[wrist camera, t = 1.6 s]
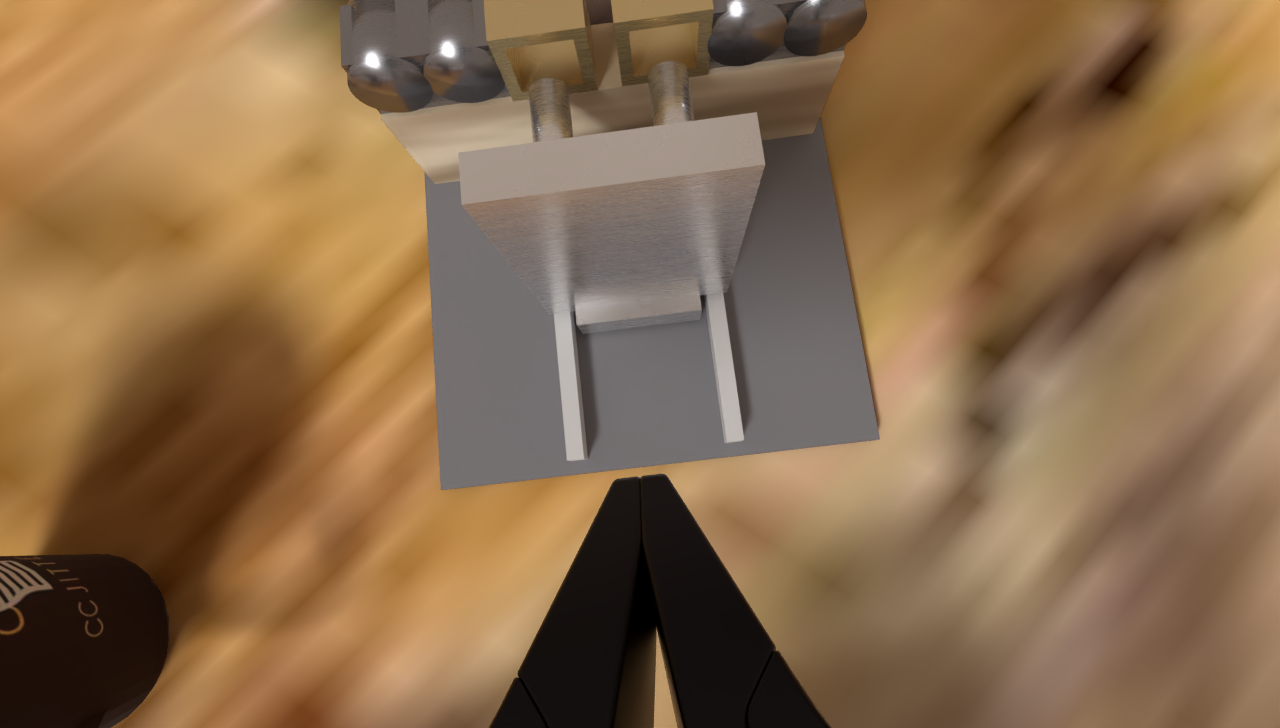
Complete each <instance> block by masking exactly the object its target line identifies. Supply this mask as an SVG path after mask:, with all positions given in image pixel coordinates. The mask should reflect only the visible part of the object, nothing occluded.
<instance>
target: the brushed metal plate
mask: <svg viewBox="0 0 1280 728" xmlns="http://www.w3.org/2000/svg"><path fill="white" fill-rule="evenodd" d="M648 84H649V92H650V100H651V107H652V115H653V123H654V126H651V127H644V128H636V129H629V130H622V131H614V132H607V133H600V134H592V135H585V136H577V137H573V129H572V119H571V109H570V99H569V90H568V86H567V85H566V84H565V83H564V82H563V81H561V80H558V79H555V78H542V79H539V80H536V81H534V82H533V83H532V84H531V85H530V86H529V89H528V93H529V105H530V116H531V127H532V139H533V143H526V144H518V145H511V146H504V147H496V148H489V149H481V150H474V151H467V152H459V153H458V157H459V173H460V189H461V205H462V206H463V207H464V208H465V210H466V211H467V212H468V213H469V215H470V216H471V217H472V218H473V220H474V221H475V222H476V223H477V225H478V226H479V227H480V229H481V230H482V231H483V232H484V234H485V235H486V236H487V237H488V239H489V240H490V241H491V242H492V244H493V245H494V246H495V247H496V249H497V250H498V251H499V252H500V254H501V255H502V256H503V257H504V259H505V260H506V261H507V262H508V264H509V265H510V266H511V267H512V269H513V270H514V271H515V272H516V274H517V275H518V276H519V277H520V279H521V280H522V281H523V282H524V284H525V285H526V286H527V287H528V289H529V290H530V291H531V292H532V294H533V295H534V296H535V297H536V299H537V300H538V301H539V302H540V304H541V305H542V306H543V308H544V309H545V310H546V311H547V313H548V314H557V313H565V312H573V311H576V321H577V326H578V328H579V329H580V331H581V332H582V334H588V333H597V332H605V331H613V330H621V329H629V328H637V327H645V326H653V325H661V324H669V323H677V322H685V321H693V320H700V317H701V311H702V308H701V301H700V296H701V295H709V294H717V293H725V292H727V291H728V288H729V285H730V281H731V278H732V274H733V271H734V268H735V264H736V261H737V258H738V254H739V251H740V248H741V244H742V241H743V238H744V234H745V231H746V228H747V224H748V221H749V217H750V214H751V211H752V207H753V204H754V201H755V197H756V194H757V191H758V187H759V184H760V181H761V177H762V174H763V171H764V167H765V160H764V153H763V147H762V141H761V135H760V129H759V123H758V117H757V112H755V113H747V114H740V115H732V116H725V117H718V118H710V119H703V120H696V121H695V119H694V112H693V105H692V98H691V91H690V84H689V77H688V70H687V67H686V66H685V65H684V64H683V63H681V62H678V61H665V62H661V63H659V64H657V65H655V66H654V67H652V68H651V70H650V71H649V73H648Z"/></svg>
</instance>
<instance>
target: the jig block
mask: <svg viewBox="0 0 1280 728" xmlns="http://www.w3.org/2000/svg"><path fill="white" fill-rule="evenodd" d="M591 34H592V43H593V52H594V61H595V69H596V78H597V87H598V90H594V91H587V92H579V93H572V94H569V99H570V109H571V119H572V129H573V137H577V136H585V135H592V134H600V133H607V132H614V131H622V130H629V129H636V128H644V127H651V126H654V123H653V115H652V107H651V100H650V92H649V84H648V83H645V84H637V85H630V86H623V87H622V82H621V74H620V67H619V59H618V52H617V44H616V37H615V30H614V22H611V23H604V24H597V25H591ZM844 57H845V54H844V50H843V51H836V52H829V53H826V54H822V55H817V56H799V57H792V58H785V59H778V60H770V61H763V62H756V63H753V64H750V65H745V66H727V67H720V68H713V69H709V70H708V75H703V76H695V77H689V84H690V91H691V98H692V105H693V112H694V119H695V121H696V120H703V119H710V118H718V117H725V116H732V115H740V114H747V113H755V112H757V117H758V123H759V129H760V135H761V140H769V139H776V138H784V137H791V136H799V135H806V134H813V132H814V130H815V127H816V125H817V122H818V120H819V117H820V115H821V113H822V110H823V108H824V105H825V103H826V100H827V98H828V96H829V93H830V91H831V88H832V86H833V83H834V81H835V79H836V76H837V74H838V71H839V69H840V66H841V64H842V62H843V59H844ZM381 120H382V121H383V122H384V124H385V125H386V126H387V127H388V128H389V130H390V131H391V132H392V133H393V134H394V136H395V137H396V138H397V139H398V140H399V142H400V143H401V144H402V145H403V146H404V148H405V149H406V150H407V151H408V152H409V154H410V155H411V156H412V157H413V158H414V160H415V161H416V162H417V163H418V164H419V166H420V167H421V168H422V169H423V170H424V172H425V173H426V174H427V175H428V176H429V178H430V179H431V180H432V181H433V182H434V184H440V183H447V182H455V181H460V173H459V157H458V153H459V152H467V151H474V150H481V149H489V148H496V147H504V146H511V145H518V144H526V143H533V139H532V127H531V116H530V105H529V100H521V101H514V102H513V101H512V98H511V96H510V97H503V98H496V99H489V100H487V101H483V102H478V103H460V104H452V105H445V106H438V107H431V108H423V109H419V110H416V111H412V112H405V113H395V112H394V113H387V114H381Z"/></svg>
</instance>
